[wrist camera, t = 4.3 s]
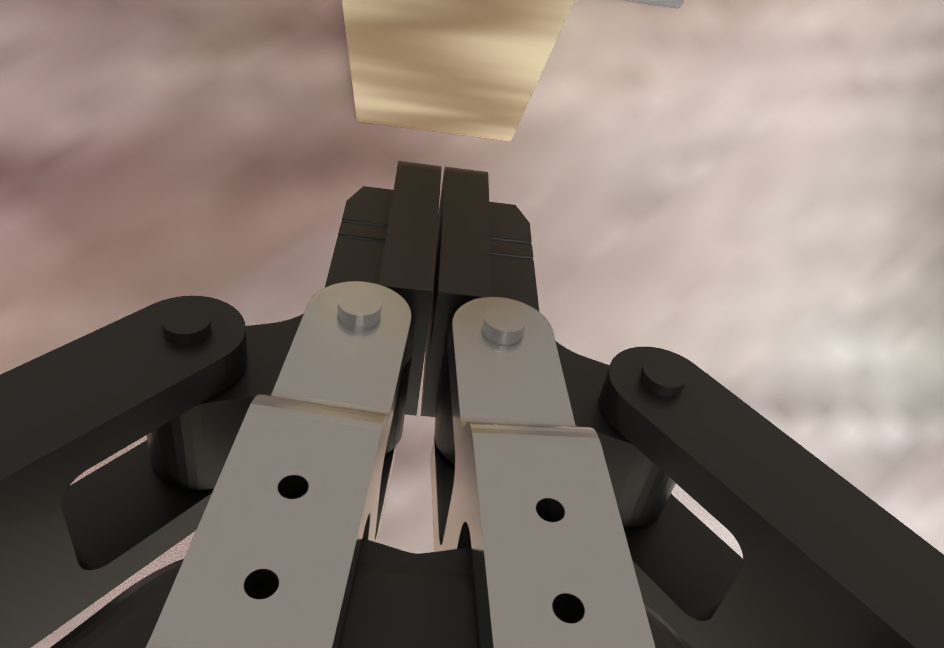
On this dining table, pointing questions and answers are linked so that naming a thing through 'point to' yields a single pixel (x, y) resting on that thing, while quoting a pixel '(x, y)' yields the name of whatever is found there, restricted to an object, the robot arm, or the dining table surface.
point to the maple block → (449, 61)
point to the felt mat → (662, 2)
